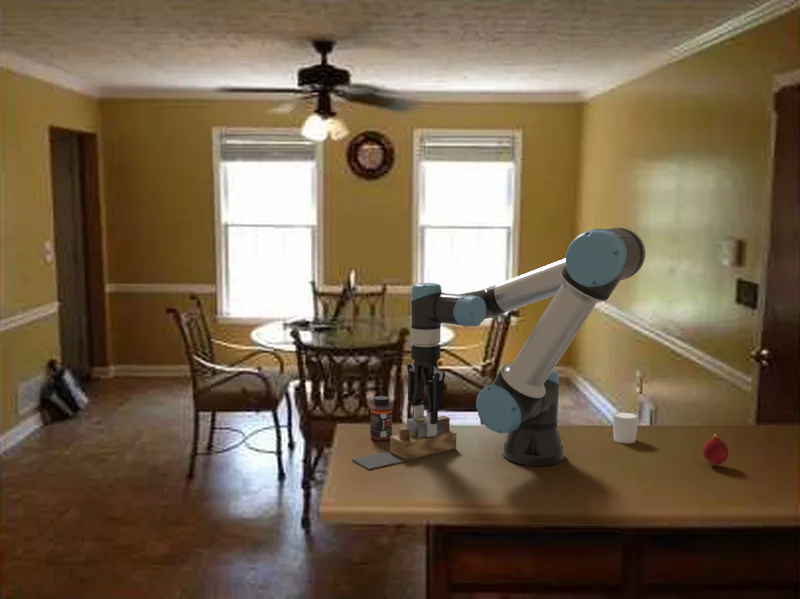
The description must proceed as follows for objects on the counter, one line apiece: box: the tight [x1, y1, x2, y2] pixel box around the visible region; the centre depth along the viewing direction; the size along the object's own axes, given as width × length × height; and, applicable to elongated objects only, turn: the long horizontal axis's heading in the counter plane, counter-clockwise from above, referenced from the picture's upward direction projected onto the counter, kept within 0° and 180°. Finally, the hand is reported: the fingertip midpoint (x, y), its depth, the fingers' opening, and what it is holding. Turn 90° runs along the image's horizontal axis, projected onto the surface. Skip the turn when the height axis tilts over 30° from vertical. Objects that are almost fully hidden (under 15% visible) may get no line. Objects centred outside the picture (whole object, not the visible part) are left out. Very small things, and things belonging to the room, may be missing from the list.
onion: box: [702, 433, 729, 467], centre depth 189 cm, size 6×6×8 cm
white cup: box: [611, 411, 639, 444], centre depth 209 cm, size 7×7×7 cm
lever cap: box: [406, 415, 444, 439], centre depth 199 cm, size 5×8×4 cm, turn 124°
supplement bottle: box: [369, 395, 393, 442], centre depth 210 cm, size 6×6×11 cm
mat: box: [351, 451, 404, 471], centre depth 192 cm, size 8×10×1 cm
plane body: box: [389, 415, 457, 462], centre depth 199 cm, size 16×7×8 cm, turn 124°
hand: (425, 432), depth 199 cm, fingers closed on lever cap, 5 cm apart
